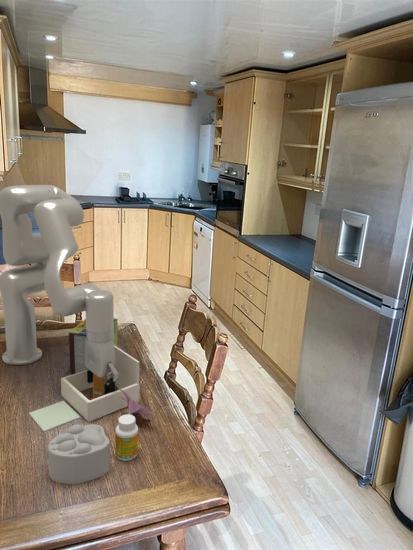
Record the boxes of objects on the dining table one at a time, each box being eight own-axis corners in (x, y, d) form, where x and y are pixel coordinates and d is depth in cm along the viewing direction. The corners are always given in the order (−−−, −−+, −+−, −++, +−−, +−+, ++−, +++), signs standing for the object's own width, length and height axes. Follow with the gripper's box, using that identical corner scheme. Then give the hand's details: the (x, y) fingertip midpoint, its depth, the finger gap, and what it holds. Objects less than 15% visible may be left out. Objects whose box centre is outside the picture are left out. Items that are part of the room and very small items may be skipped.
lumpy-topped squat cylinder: (112, 473, 98) (112, 441, 96) (53, 491, 92) (51, 457, 90) (100, 446, 107) (100, 415, 105) (45, 460, 101) (43, 429, 98)
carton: (61, 396, 127) (60, 356, 123) (110, 379, 138) (110, 342, 134) (88, 422, 115) (87, 379, 112) (139, 402, 126) (139, 362, 123)
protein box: (118, 359, 151) (118, 318, 147) (100, 381, 136) (99, 336, 132) (89, 355, 153) (89, 314, 148) (69, 376, 138) (67, 331, 134)
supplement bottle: (119, 464, 101) (119, 428, 99) (112, 449, 106) (112, 415, 103) (140, 457, 104) (141, 422, 101) (133, 444, 108) (134, 410, 106)
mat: (28, 414, 118) (28, 412, 117) (63, 401, 124) (63, 400, 124) (44, 432, 111) (43, 430, 110) (80, 418, 117) (80, 416, 117)
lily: (154, 439, 112) (165, 402, 114) (112, 430, 107) (124, 392, 109) (140, 426, 123) (150, 393, 125) (101, 418, 118) (112, 383, 120)
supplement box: (103, 403, 125) (103, 371, 122) (92, 401, 125) (92, 370, 123) (108, 397, 128) (108, 366, 125) (97, 395, 129) (97, 364, 126)
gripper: (73, 327, 125) (75, 380, 129) (103, 348, 112) (104, 405, 117) (96, 321, 130) (97, 373, 134) (128, 340, 117) (128, 396, 122)
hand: (101, 388), depth 126 cm, fingers open, 9 cm apart
